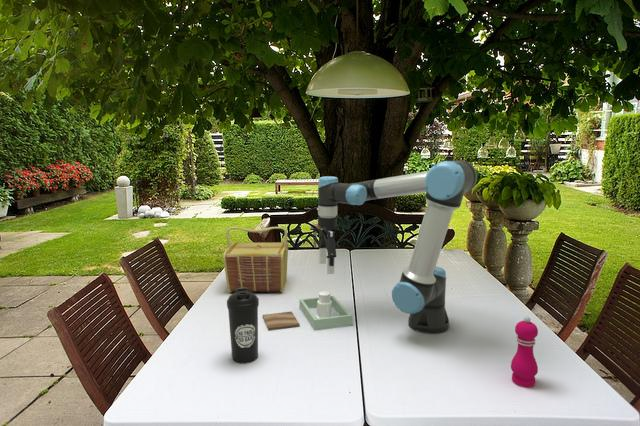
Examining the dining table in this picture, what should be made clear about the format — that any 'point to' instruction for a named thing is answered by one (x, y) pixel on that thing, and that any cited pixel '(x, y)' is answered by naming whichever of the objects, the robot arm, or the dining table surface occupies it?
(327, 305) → the downlight
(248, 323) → the water bottle
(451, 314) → the dining table surface
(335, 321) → the bin
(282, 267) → the picnic basket
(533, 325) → the pepper mill
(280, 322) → the pad
